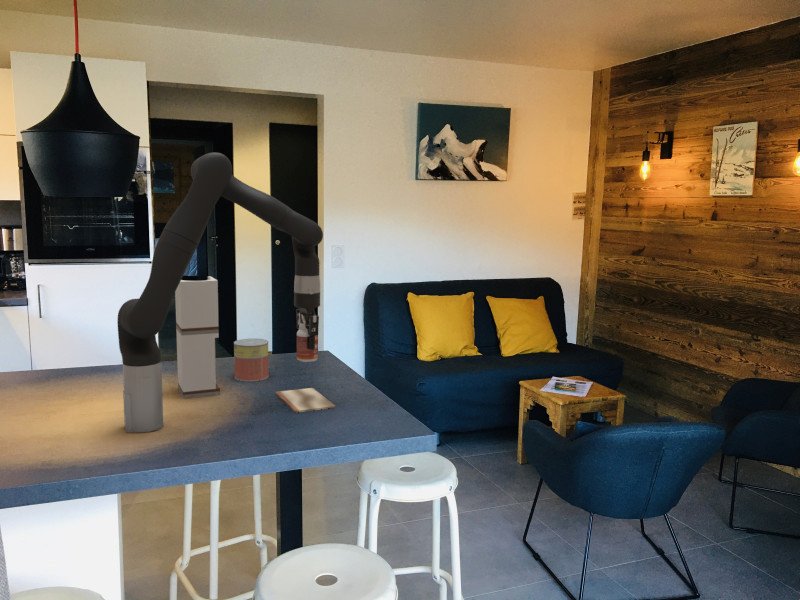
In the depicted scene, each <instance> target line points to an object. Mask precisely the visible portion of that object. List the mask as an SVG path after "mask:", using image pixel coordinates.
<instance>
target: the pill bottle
mask: <svg viewBox="0 0 800 600" xmlns="http://www.w3.org/2000/svg"><path fill="white" fill-rule="evenodd" d="M307 326H309V325H307ZM299 328H300V330H299V329H298V330H297V332H296V360H298V361H299V362H303V363H307V362H308V363H310V362H315V361H318V358H319V355H318V354H319V344H318V343H319V342H318V341H319V334H318V335H317V336H315V349H311V350H308V349H307V333H306V330H305V329H304V324H303V323H302V322H300V323H299ZM312 332H313V330H312Z"/></svg>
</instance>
